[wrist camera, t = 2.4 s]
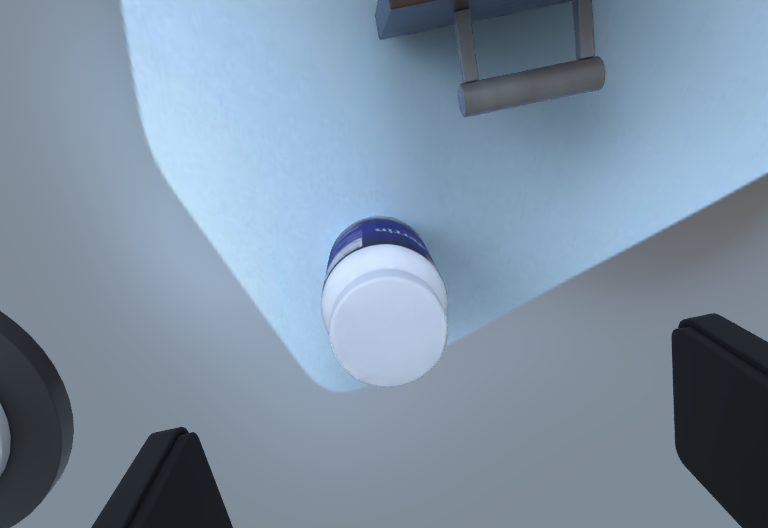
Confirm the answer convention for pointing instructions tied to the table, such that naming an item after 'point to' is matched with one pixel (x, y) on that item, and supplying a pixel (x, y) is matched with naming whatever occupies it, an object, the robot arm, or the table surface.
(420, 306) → the pill bottle
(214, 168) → the table surface
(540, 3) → the drawer
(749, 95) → the table surface
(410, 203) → the table surface
